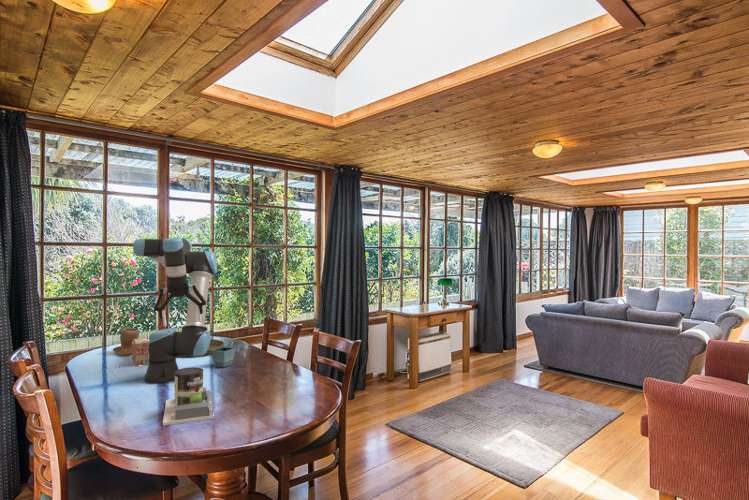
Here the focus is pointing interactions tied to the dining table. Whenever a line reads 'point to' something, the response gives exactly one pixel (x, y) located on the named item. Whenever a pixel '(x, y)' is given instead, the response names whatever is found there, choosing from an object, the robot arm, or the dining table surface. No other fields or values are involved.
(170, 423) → the mounting board
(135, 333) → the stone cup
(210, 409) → the metal rail
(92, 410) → the dining table surface
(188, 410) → the block
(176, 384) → the coffee can
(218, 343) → the plant saucer
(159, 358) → the robot arm
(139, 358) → the tan printed box
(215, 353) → the flower pot
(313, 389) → the dining table surface
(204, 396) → the block
